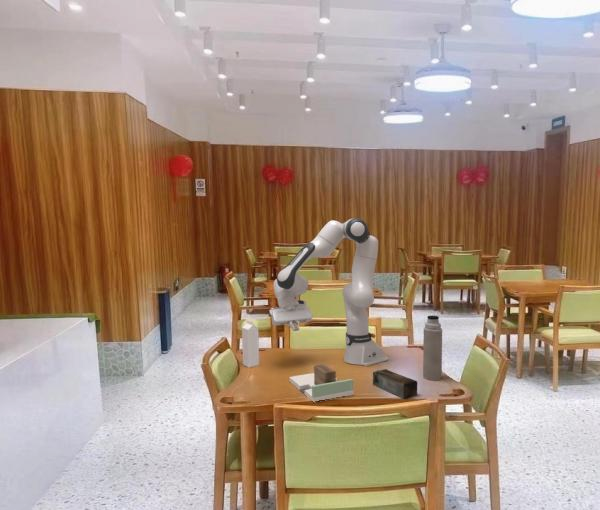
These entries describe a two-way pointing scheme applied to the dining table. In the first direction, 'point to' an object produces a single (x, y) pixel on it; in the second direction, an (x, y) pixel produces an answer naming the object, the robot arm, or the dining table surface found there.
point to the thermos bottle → (432, 349)
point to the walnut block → (323, 374)
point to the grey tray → (322, 387)
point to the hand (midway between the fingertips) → (296, 330)
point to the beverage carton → (395, 383)
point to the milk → (250, 344)
